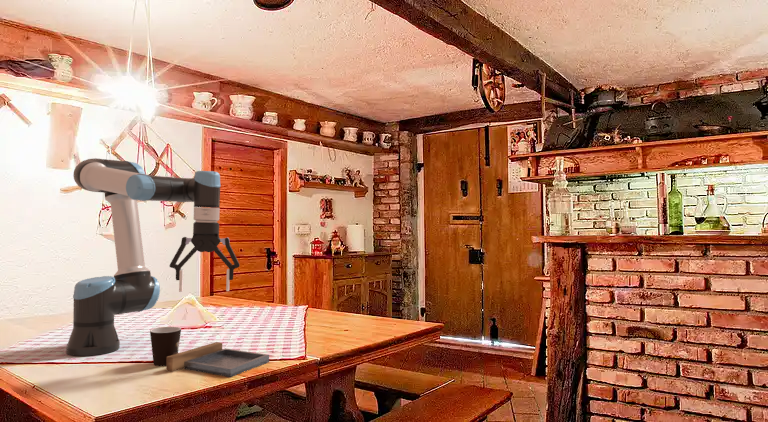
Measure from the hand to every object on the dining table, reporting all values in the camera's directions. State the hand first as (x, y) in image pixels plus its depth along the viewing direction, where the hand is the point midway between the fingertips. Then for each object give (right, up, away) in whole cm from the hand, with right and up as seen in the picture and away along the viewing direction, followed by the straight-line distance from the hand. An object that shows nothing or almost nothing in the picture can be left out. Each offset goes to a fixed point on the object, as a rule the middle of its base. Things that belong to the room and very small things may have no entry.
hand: (204, 291), depth 161 cm
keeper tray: (+9, -21, -6) cm, 24 cm away
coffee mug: (-10, -21, -3) cm, 24 cm away
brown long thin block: (-2, -21, -3) cm, 21 cm away
